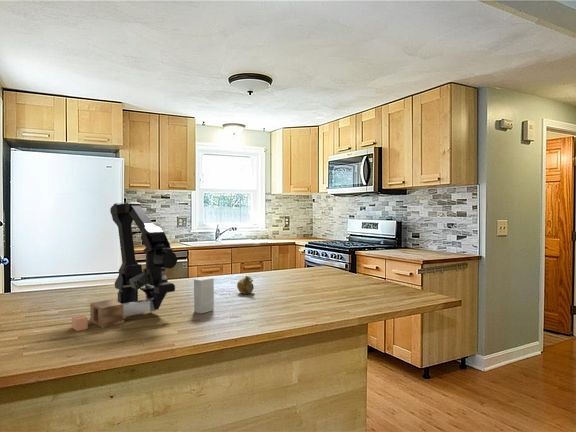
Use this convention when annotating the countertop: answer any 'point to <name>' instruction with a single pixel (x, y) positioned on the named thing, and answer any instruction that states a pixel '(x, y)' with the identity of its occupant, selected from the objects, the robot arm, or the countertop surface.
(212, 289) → the skincare box
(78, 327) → the block
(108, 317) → the block
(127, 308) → the shaft
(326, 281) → the countertop surface
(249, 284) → the onion
